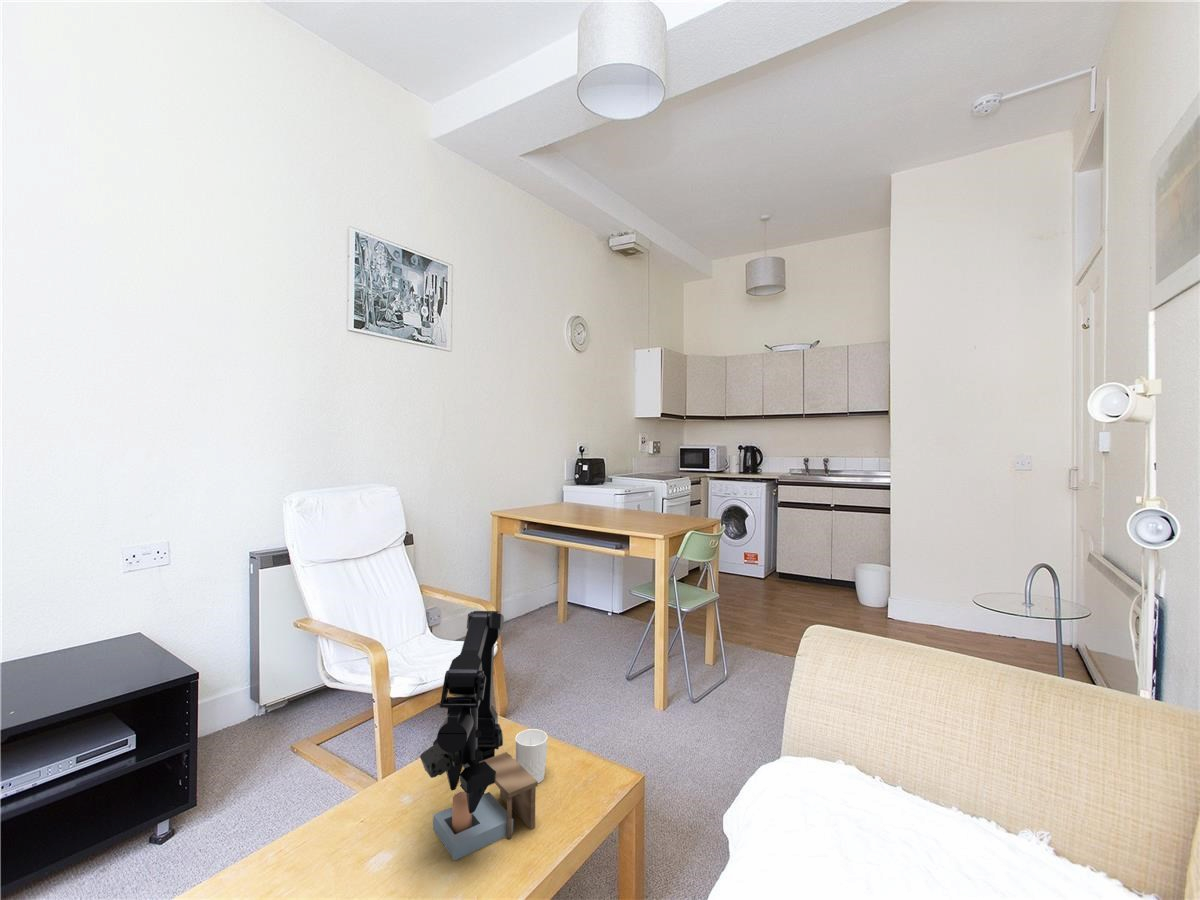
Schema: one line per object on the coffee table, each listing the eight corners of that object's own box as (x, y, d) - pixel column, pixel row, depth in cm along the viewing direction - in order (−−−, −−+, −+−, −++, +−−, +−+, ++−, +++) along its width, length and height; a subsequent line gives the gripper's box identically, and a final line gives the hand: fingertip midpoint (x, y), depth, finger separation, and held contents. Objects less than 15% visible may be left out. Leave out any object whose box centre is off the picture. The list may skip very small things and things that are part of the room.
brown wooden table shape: (478, 805, 124) (478, 762, 124) (505, 793, 128) (506, 751, 128) (507, 840, 113) (508, 793, 113) (536, 826, 117) (537, 781, 117)
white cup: (553, 777, 135) (554, 737, 135) (528, 791, 129) (529, 749, 129) (532, 764, 140) (533, 725, 140) (508, 777, 134) (508, 737, 134)
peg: (448, 834, 114) (449, 796, 114) (466, 826, 117) (467, 789, 117) (456, 845, 111) (457, 806, 111) (474, 837, 114) (475, 799, 114)
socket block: (433, 828, 116) (433, 814, 116) (489, 804, 124) (489, 791, 124) (454, 860, 107) (454, 845, 107) (513, 832, 115) (513, 818, 115)
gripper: (409, 719, 116) (408, 792, 116) (443, 759, 101) (442, 843, 101) (459, 704, 123) (457, 774, 123) (497, 740, 108) (496, 819, 108)
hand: (462, 800), depth 114 cm, fingers open, 9 cm apart
